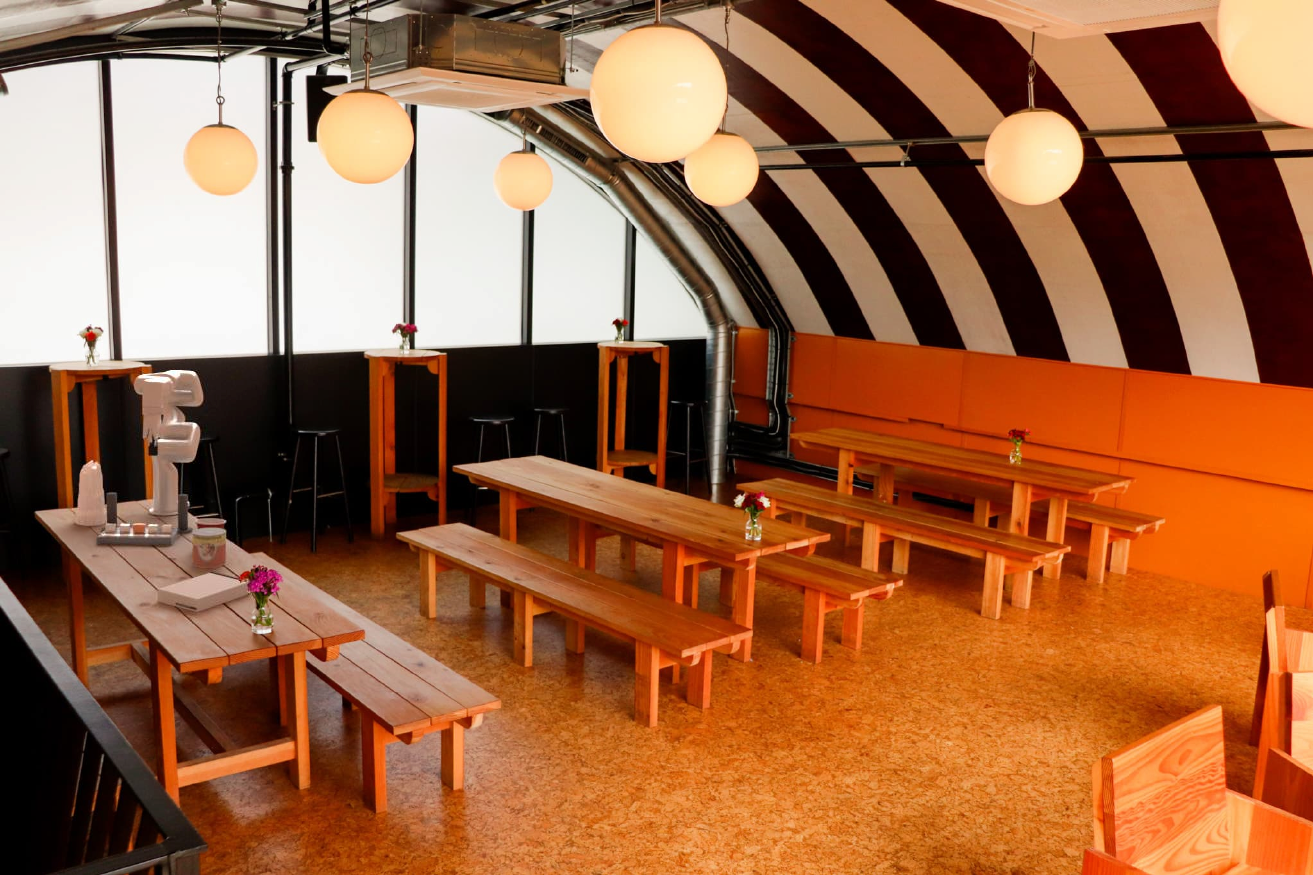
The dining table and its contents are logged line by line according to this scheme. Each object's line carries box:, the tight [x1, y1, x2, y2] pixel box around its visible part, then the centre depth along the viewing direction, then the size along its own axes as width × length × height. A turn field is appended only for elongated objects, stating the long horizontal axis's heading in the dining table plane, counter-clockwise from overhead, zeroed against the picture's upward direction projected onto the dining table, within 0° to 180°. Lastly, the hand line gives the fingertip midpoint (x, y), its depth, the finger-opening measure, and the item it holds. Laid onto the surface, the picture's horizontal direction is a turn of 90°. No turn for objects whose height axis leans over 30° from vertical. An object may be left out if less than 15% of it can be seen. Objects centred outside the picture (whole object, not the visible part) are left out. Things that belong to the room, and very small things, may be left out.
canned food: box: [192, 528, 227, 569], centre depth 379 cm, size 11×11×12 cm
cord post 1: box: [101, 492, 120, 533], centre depth 410 cm, size 7×7×15 cm
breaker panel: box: [96, 523, 181, 546], centre depth 401 cm, size 14×26×6 cm, turn 103°
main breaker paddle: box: [132, 522, 147, 532], centre depth 401 cm, size 2×4×3 cm, turn 103°
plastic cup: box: [194, 517, 227, 529], centre depth 394 cm, size 11×11×12 cm
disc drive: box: [157, 571, 250, 613], centre depth 344 cm, size 18×22×5 cm
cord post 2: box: [177, 493, 193, 535], centre depth 416 cm, size 7×7×15 cm
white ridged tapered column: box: [75, 459, 107, 527], centre depth 417 cm, size 11×11×25 cm
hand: (153, 455), depth 418 cm, fingers closed
